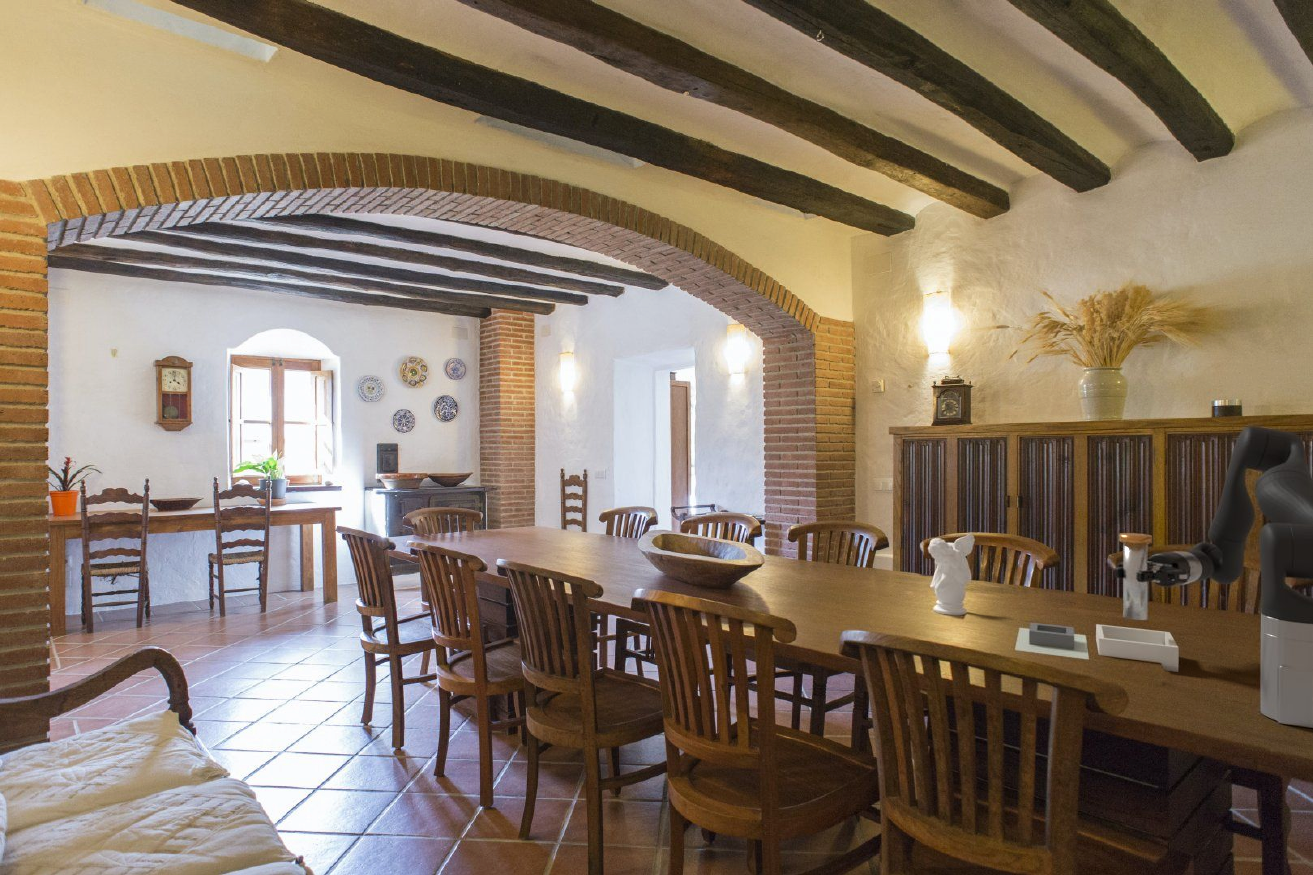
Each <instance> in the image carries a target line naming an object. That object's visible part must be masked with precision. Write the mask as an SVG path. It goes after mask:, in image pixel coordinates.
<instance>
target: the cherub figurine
mask: <svg viewBox="0 0 1313 875" xmlns="http://www.w3.org/2000/svg"><path fill="white" fill-rule="evenodd" d="M975 541H976V539H975V535H973V533H972V532H970V533H968V534H967V535H965V536H962V537H959V538H957V539H955V541H954V542H946V540H945V539H942V538H941V537H935V538H932V539H931V540H929V545H928V547H927V550H928V554H930V555H931V557H932V559H934V564H935V565H936V569H935V571H934V574H933V578H932V581H931V582H930V588H931V589H934V592H935V597H936V599H937V600H936V601H935V603H936V605H934V606H933V607H932V608H933V611H934V612H935V613H937V614H941V615H950V616H962V615H966V614H967V612H968V611H967V609H966V608H965V607H964V606H965V603H964V600H965V598H966V592H967V591H966V587H965V585H966V586H967V585H968V584H970V583H971V580H972V572H971V569H970V564H969V563H968V562H969V560H968V559H967V558H966V557H967V556H968V555H970V554H971V553H972V552H973V548H974V544H975Z"/></svg>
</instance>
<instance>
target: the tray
mask: <svg viewBox="0 0 1313 875" xmlns="http://www.w3.org/2000/svg"><path fill="white" fill-rule="evenodd" d="M1095 628H1096V630H1095V640H1096V647H1097V651H1098V655H1099V656H1105V657H1110V658H1111V657H1113V658H1120V659H1129V660H1137V661H1142V662H1143V661H1144V662H1152V663H1160V664H1161V666H1162V668H1163V670H1164V671H1166V672H1167V671H1168V672H1173V673H1174V672H1177V673H1179V651H1180V650H1179V649H1180V648H1179V646H1178V644H1177V642H1176V641H1175V639H1174V637H1173V636H1172V634H1171V632H1170V631H1161V630H1153V629H1144V628H1135V627H1124V626H1116V625H1108V624H1107V625H1106V624H1098V623H1096V624H1095Z"/></svg>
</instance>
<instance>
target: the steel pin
mask: <svg viewBox="0 0 1313 875" xmlns="http://www.w3.org/2000/svg"><path fill="white" fill-rule="evenodd" d="M1118 540H1119V542H1120V543H1123V546H1122V548H1123V550H1122V551H1123V552H1122V553H1123V557H1122V558H1123V561H1122V562H1123V578H1122V579H1123V580H1122V581H1123V582H1122V583H1123V584H1122V586H1123V587H1122V589H1123V590H1122V592H1123V593H1122V594H1123V595H1122V596H1123V597H1122V598H1123V599H1122V600H1123V608H1122V610H1123V613H1122V616H1123V618H1126V619H1129V620H1133V621H1134V620H1138V621H1145V620H1148V582H1138V572H1139V571H1147V560H1148V545H1150V544H1153V536H1152V535H1150V534H1145V533H1138V532H1137V533H1134V532H1123V533H1122V532H1121V533H1119V534H1118Z"/></svg>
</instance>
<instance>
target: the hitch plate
mask: <svg viewBox="0 0 1313 875" xmlns="http://www.w3.org/2000/svg"><path fill="white" fill-rule="evenodd" d="M1088 649H1089V648H1088V643H1087V635H1085V634H1079V633H1075V629H1074V627H1073V626H1067V625H1066V626H1064V625H1057V624H1046V623H1038V622H1030V624H1029V628H1025V627H1019V628H1018V634H1017V638H1016V644H1015V648H1014V651H1018V652H1020V651H1021V652H1026V653H1027V652H1028V653H1035V654H1040V655H1041V654H1043V655H1049V656H1058V657H1065V658H1073V659H1083V660H1090V658H1089V657H1090V656H1089V650H1088Z"/></svg>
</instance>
